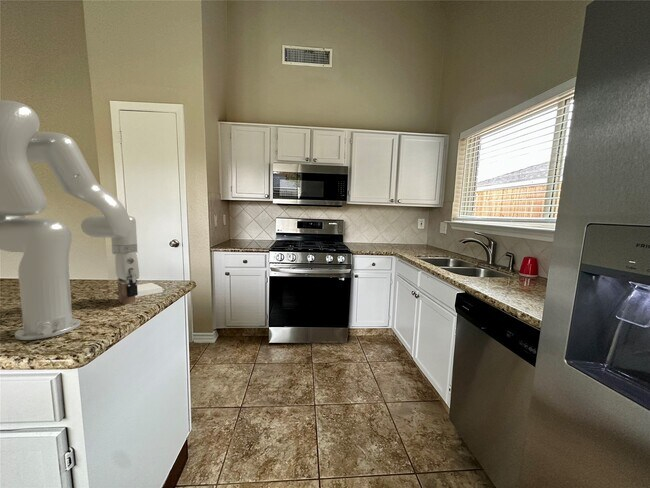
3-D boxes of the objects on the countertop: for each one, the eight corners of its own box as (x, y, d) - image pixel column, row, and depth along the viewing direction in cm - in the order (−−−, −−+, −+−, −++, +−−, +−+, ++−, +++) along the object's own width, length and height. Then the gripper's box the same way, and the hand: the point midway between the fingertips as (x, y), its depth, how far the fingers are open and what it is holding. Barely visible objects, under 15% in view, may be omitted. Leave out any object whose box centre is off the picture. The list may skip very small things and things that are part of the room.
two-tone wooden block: (135, 302, 98) (134, 281, 98) (124, 304, 96) (123, 283, 95) (129, 299, 102) (128, 279, 101) (118, 301, 99) (117, 280, 98)
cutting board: (162, 291, 112) (162, 287, 112) (129, 298, 103) (129, 293, 103) (151, 287, 119) (151, 282, 119) (119, 292, 110) (119, 287, 110)
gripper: (145, 250, 95) (148, 295, 97) (128, 246, 105) (131, 287, 107) (120, 252, 89) (123, 300, 91) (105, 247, 99) (108, 291, 101)
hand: (127, 293), depth 99 cm, fingers open, 9 cm apart
